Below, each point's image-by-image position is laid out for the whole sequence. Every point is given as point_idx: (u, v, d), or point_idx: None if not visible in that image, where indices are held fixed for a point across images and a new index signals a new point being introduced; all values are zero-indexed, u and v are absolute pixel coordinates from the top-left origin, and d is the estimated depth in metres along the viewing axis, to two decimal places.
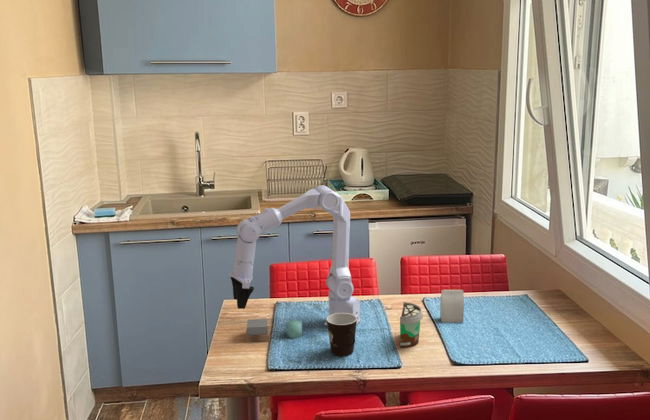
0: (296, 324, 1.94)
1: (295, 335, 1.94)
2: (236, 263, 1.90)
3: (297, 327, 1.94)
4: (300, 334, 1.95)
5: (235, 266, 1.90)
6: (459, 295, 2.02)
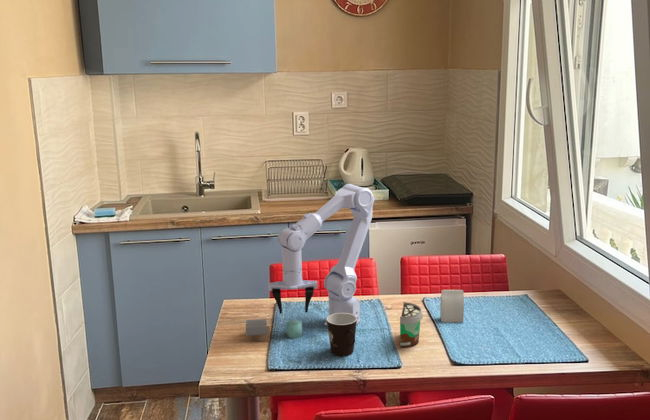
0: (296, 324, 1.94)
1: (295, 335, 1.94)
2: (296, 273, 1.89)
3: (297, 327, 1.94)
4: (300, 334, 1.95)
5: (296, 277, 1.89)
6: (459, 295, 2.02)
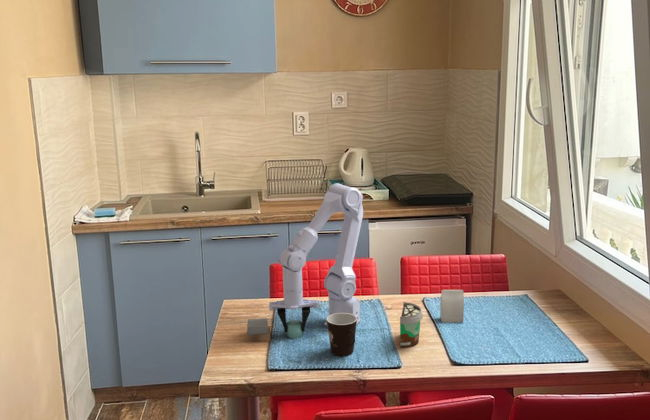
0: (296, 324, 1.94)
1: (295, 334, 1.94)
2: (297, 293, 1.91)
3: (297, 327, 1.94)
4: (300, 334, 1.95)
5: (296, 297, 1.91)
6: (459, 295, 2.02)
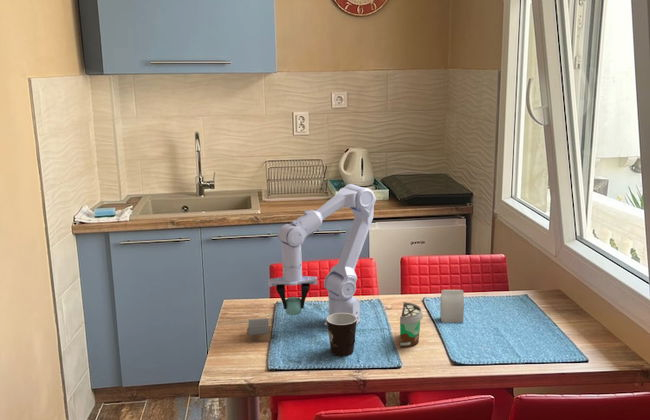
0: (295, 301, 1.92)
1: (294, 311, 1.92)
2: (296, 269, 1.89)
3: (296, 303, 1.92)
4: (299, 311, 1.93)
5: (295, 272, 1.89)
6: (459, 295, 2.02)
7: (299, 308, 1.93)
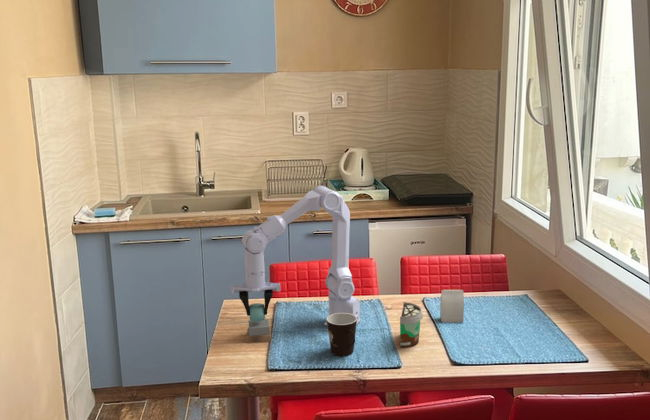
0: (259, 307, 1.92)
1: (257, 318, 1.92)
2: (259, 276, 1.89)
3: (259, 310, 1.91)
4: (263, 317, 1.93)
5: (258, 279, 1.89)
6: (459, 295, 2.02)
7: (262, 314, 1.92)
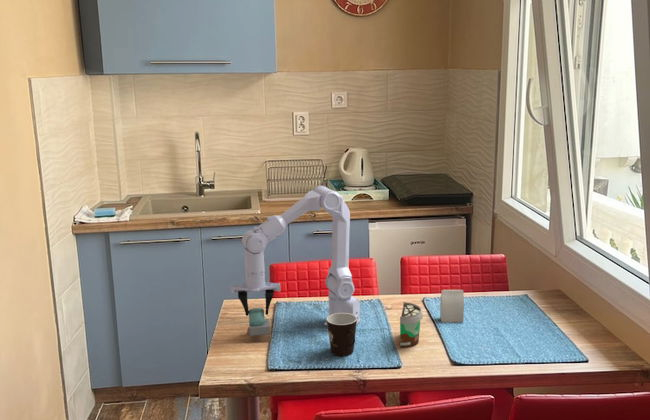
0: (258, 312, 1.92)
1: (257, 322, 1.92)
2: (259, 276, 1.89)
3: (259, 314, 1.92)
4: (262, 321, 1.93)
5: (258, 279, 1.89)
6: (459, 295, 2.02)
7: (262, 319, 1.93)
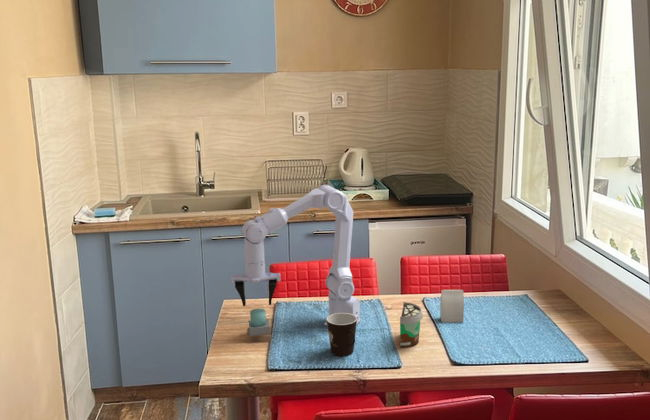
0: (260, 313, 1.92)
1: (258, 323, 1.92)
2: (259, 265, 1.88)
3: (260, 315, 1.92)
4: (264, 322, 1.93)
5: (258, 269, 1.88)
6: (459, 295, 2.02)
7: (263, 320, 1.93)
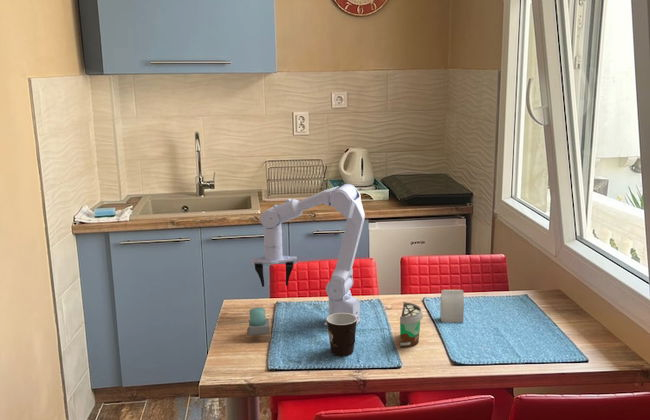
0: (259, 312, 1.92)
1: (258, 322, 1.92)
2: (277, 249, 2.04)
3: (260, 314, 1.92)
4: (263, 321, 1.93)
5: (276, 252, 2.04)
6: (459, 295, 2.02)
7: (263, 319, 1.93)
